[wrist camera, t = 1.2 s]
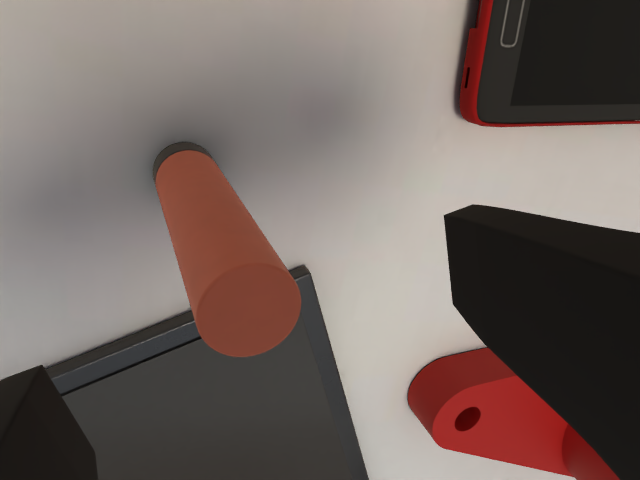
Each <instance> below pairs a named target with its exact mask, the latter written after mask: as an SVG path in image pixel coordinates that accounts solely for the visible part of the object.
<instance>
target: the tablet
mask: <svg viewBox="0 0 640 480" xmlns="http://www.w3.org/2000/svg"><path fill="white" fill-rule="evenodd" d="M289 273H290V274H291V276H292V277H293V279H294V280H295V282H296V284H297V285H298V288H299V290H300V295H301V310H300V314H299V318H298V320H297V322H296V324H295V326H294V328H293V329H292V331H291V332H290V334H289V335H288V336H287V337H286V338H285V339H284V340H283V341H282V342H281V343H279V344H278V345H277V346H275V347H273V348H272V349H270V350H268V351H266V352H264V353H261V354H258V355H254V356H248V357H232V356H227V355H224V354H221V353H219V352H217V351H215V350H214V349H212V348H211V347H209V346H208V345H207V344H206V343H205V342H204V340H203V339H202V338H201V336H200V334H199V332H198V329H197V326H196V323H195V320H194V316H193V313H192V311H190V312H187V313H185V314H182V315H180V316H177V317H175V318H172V319H170V320H167V321H165V322H162V323H160V324H158V325H155V326H153V327H150V328H148V329H145V330H143V331H140V332H138V333H135V334H133V335H130V336H128V337H125V338H123V339H120V340H118V341H115V342H113V343H110V344H108V345H105V346H103V347H100V348H98V349H95V350H93V351H90V352H88V353H85V354H83V355H80V356H78V357H75V358H73V359H70V360H68V361H65V362H63V363H61V364H58V365H56V366H53V367H51V368H48V369H46V372H47V373H48V375H49V377H50V378H51V380H52V382H53V383H54V385H55V387H56V388H57V390H58V391H59V393H60V395H61V396H62V398H63V400H64V401H65V403H66V405H67V406H68V408H69V410H70V411H71V413H72V414H73V416H74V418H75V419H76V421H77V423H78V424H79V426H80V428H81V429H82V431H83V433H84V434H85V436H86V437H87V439H88V441H89V442H90V444H91V446H92V447H93V449H94V451H95V455H96V464H97V473H98V480H369V478H368V475H367V471H366V468H365V464H364V461H363V457H362V453H361V450H360V446H359V443H358V439H357V436H356V432H355V429H354V425H353V422H352V418H351V414H350V411H349V407H348V404H347V400H346V397H345V393H344V390H343V386H342V383H341V379H340V376H339V372H338V368H337V365H336V361H335V358H334V354H333V351H332V347H331V344H330V340H329V337H328V333H327V330H326V326H325V322H324V319H323V315H322V312H321V308H320V305H319V301H318V298H317V294H316V291H315V287H314V283H313V280H312V276H311V273H310V272H309V270H308V269H307V268H306V267H305V266H302V267H299V268H297V269H294V270H292V271H289Z"/></svg>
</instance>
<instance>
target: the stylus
mask: <svg viewBox="0 0 640 480" xmlns="http://www.w3.org/2000/svg"><path fill="white" fill-rule="evenodd" d="M153 179H154V182H155V186H156V189H157V193H158V196H159V199H160V203H161V206H162V210H163V213H164V217H165V220H166V223H167V227H168V230H169V234H170V237H171V241H172V244H173V247H174V251H175V254H176V258H177V261H178V265H179V268H180V272H181V275H182V278H183V282H184V285H185V289H186V292H187V296H188V299H189V302H190V306H191V309H192V313H193V316H194V320H195V323H196V326H197V329H198V332H199V334H200V336H201V338H202V339H203V340H204V342H205V343H206V344H207V345H208V346H209V347H211V348H212V349H214V350H215V351H217V352H219V353H221V354H224V355H227V356H232V357H248V356H254V355H258V354H261V353H264V352H266V351H268V350H270V349H272V348H273V347H275V346H277V345H278V344H279V343H281V342H282V341H283V340H284V339H285V338H286V337H287V336H288V335H289V334H290V332H291V331H292V329H293V328H294V326H295V324H296V322H297V320H298V318H299V314H300V310H301V295H300V290H299V288H298V285H297V284H296V282H295V280H294V279H293V277H292V276H291V274H290V273H289V271H288V270H287V268H286V267H285V265H284V264H283V262H282V261H281V259H280V258H279V256H278V255H277V253H276V252H275V250H274V249H273V247H272V246H271V245H270V243H269V242H268V240H267V239H266V237H265V236H264V234H263V233H262V231H261V230H260V228H259V227H258V225H257V224H256V222H255V221H254V219H253V218H252V216H251V215H250V213H249V212H248V210H247V209H246V207H245V206H244V205H243V203H242V202H241V200H240V199H239V197H238V196H237V194H236V193H235V191H234V190H233V188H232V187H231V185H230V184H229V182H228V181H227V179H226V178H225V176H224V175H223V173H222V172H221V170H220V169H219V167H218V166H217V164H216V163H215V162H214V160H213V159H212V157H211V156H210V154H209V153H208V152H207V151H206V150H205V149H203V148H202V147H200V146H199V145H196V144H193V143H188V142H181V143H176V144H173V145H170V146H168V147H167V148H165V149H164V150H163V151H162V152H161V153H160V154H159V155H158V156H157V158H156V160H155V162H154V166H153Z"/></svg>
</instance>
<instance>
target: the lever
mask: <svg viewBox="0 0 640 480" xmlns="http://www.w3.org/2000/svg"><path fill="white" fill-rule="evenodd" d="M408 404H409V406H410V408H411V410H412V411H413V412H414V414H415V415H416V416H417V418H418V419H419V421H420V422H421V423H422V425H423V426H424V427H425V429H426V430H427V431H428V433H429V434H430V435H431V437H432V438H433V439H434V441H435V442H436V443H437V444H438V445H439V446H440V447H442V448H444V449H448V450H453V451H457V452H462V453H466V454H471V455H476V456H480V457H485V458H489V459H494V460H498V461H503V462H507V463H512V464H517V465H521V466H526V467H530V468H535V469H539V470H544V471H548V472H553V473H558V474H562V475H567V476H571V477H575V478H576V479H577V480H620V479H619V478H618V477H617V476H616V474H615V473H614V472H613V471H612V470H611V469H610V468H609V466H608V465H607V464H606V463H605V462H604V461H603V460H602V458H601V457H600V456H599V455H598V454H597V453H596V451H595V450H594V449H593V448H592V447H591V446H590V445H589V444H588V443H587V442H586V441H585V440H584V439H583V438H582V437H581V436H580V435H579V434H578V433H577V432H576V431H575V430H574V429H573V428H572V427H571V426H570V425H569V424H568V423H567V422H566V421H565V420H564V419H563V418H562V417H561V416H559V415H558V414H557V413H556V412H555V411H554V410H553V409H552V408H551V407H550V406H549V405H548V404H547V403H546V402H545V401H544V400H543V399H541V398H540V397H539V396H538V395H537V394H536V393H535V392H534V391H533V390H532V389H531V388H530V387H529V386H528V385H527V384H526V383H525V382H523V381H522V380H521V379H520V378H519V377H518V376H517V375H516V374H515V373H514V372H513V371H512V370H511V369H510V368H509V367H508V366H507V365H506V364H505V363H504V362H503V361H502V360H500V359H499V358H498V357H497V356H496V355H495V354H494V353H493V352H492V351H491V350H490V349H489V348H488V347H487V348H483V349H478V350H474V351H469V352H465V353H460V354H456V355H451V356H447V357H443V358H440V359H438V360H436V361H434V362H432V363H430V364H429V365H427V366H426V367H425V368H424V369H423V370H421V372H420V373H419V374H418V375H417V376H416V377H415V379H414V380H413V382H412V384H411V386H410V388H409V392H408Z"/></svg>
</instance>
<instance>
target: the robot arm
mask: <svg viewBox="0 0 640 480" xmlns="http://www.w3.org/2000/svg"><path fill="white" fill-rule="evenodd" d="M444 221H445V231H446V241H447V251H448V261H449V271H450V281H451V291H452V301H453V305H454V306H455V307H456V309H457V310H458V311H459V313H460V314H461V315H462V317H463V318H464V319H465V321H466V322H467V323H468V324H469V326H470V327H471V328H472V329H473V331H474V332H475V333H476V334H477V335H478V337H479V338H480V339H481V340H482V342H483V343H484V344H485V345H486V346H487V347H488V348H489V349H490V350H491V351H492V352H493V353H494V354H495V355H496V356H497V357H498V358H499V359H500V360H502V361H503V362H504V363H505V364H506V365H507V366H508V367H509V368H510V369H511V370H512V371H513V372H514V373H515V374H516V375H517V376H518V377H519V378H520V379H521V380H522V381H523V382H525V383H526V384H527V385H528V386H529V387H530V388H531V389H532V390H533V391H534V392H535V393H536V394H537V395H538V396H539V397H540V398H541V399H543V400H544V401H545V402H546V403H547V404H548V405H549V406H550V407H551V408H552V409H553V410H554V411H555V412H556V413H557V414H558V415H559V416H561V417H562V418H563V419H564V420H565V421H566V422H567V423H568V424H569V425H570V426H571V427H572V428H573V429H574V430H575V431H576V432H577V433H578V434H579V435H580V436H581V437H582V438H583V439H584V440H585V441H586V442H587V443H588V444H589V445H590V446H591V447H592V448H593V449H594V450H595V451H596V453H597V454H598V455H599V456H600V457H601V458H602V460H603V461H604V462H605V463H606V464H607V465H608V466H609V468H610V469H611V470H612V471H613V472H614V473H615V474H616V476H617V477H618V478H619V479H620V480H640V233H636V232H629V231H622V230H616V229H611V228H605V227H599V226H593V225H588V224H582V223H577V222H572V221H567V220H561V219H556V218H551V217H546V216H541V215H536V214H531V213H525V212H520V211H515V210H509V209H504V208H498V207H491V206H483V205H470V206H467V207H465V208H462V209H459V210H457V211H454V212H451V213H448V214H446V215H444ZM0 480H98V473H97V464H96V455H95V451H94V449H93V447H92V446H91V444H90V442H89V441H88V439H87V437H86V436H85V434H84V433H83V431H82V429H81V428H80V426H79V424H78V423H77V421H76V419H75V418H74V416H73V414H72V413H71V411H70V410H69V408H68V406H67V405H66V403H65V401H64V400H63V398H62V396H61V395H60V393H59V391H58V390H57V388H56V387H55V385H54V383H53V382H52V380H51V378H50V377H49V375H48V373H47V372H46V370H45V368H44V367H43V365H40V366H37V367H34V368H31V369H29V370H26V371H23V372H21V373H18V374H15V375H13V376H10V377H7V378H5V379H2V380H1V381H0Z"/></svg>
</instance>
